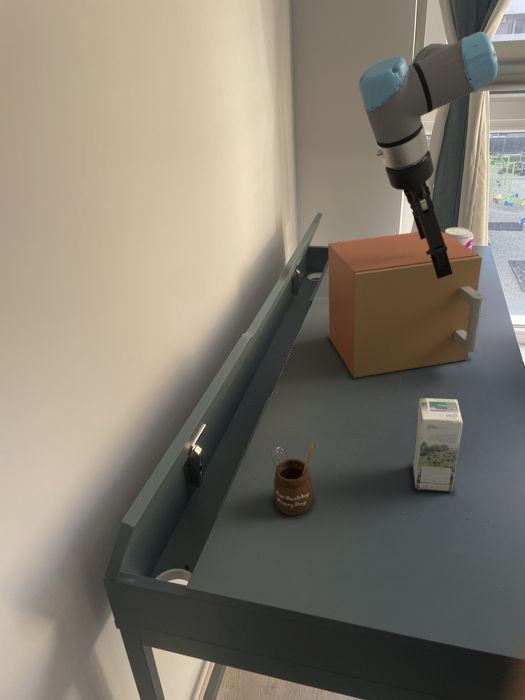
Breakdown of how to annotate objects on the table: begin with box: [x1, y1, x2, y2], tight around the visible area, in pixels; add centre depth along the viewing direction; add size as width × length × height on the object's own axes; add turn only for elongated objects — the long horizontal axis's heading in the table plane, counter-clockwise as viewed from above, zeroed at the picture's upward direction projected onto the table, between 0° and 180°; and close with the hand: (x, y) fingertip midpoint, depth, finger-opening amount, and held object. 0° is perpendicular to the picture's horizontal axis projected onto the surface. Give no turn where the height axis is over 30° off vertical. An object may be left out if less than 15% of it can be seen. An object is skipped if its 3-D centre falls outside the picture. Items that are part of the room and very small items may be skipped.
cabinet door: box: [352, 255, 484, 379], centre depth 107 cm, size 7×26×24 cm, turn 100°
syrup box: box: [412, 397, 464, 493], centre depth 82 cm, size 6×6×14 cm
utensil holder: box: [270, 441, 314, 516], centre depth 81 cm, size 6×6×12 cm
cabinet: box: [327, 231, 480, 376], centre depth 118 cm, size 18×26×24 cm
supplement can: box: [443, 226, 474, 251], centre depth 150 cm, size 8×8×15 cm
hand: (435, 255), depth 102 cm, fingers open, 13 cm apart
